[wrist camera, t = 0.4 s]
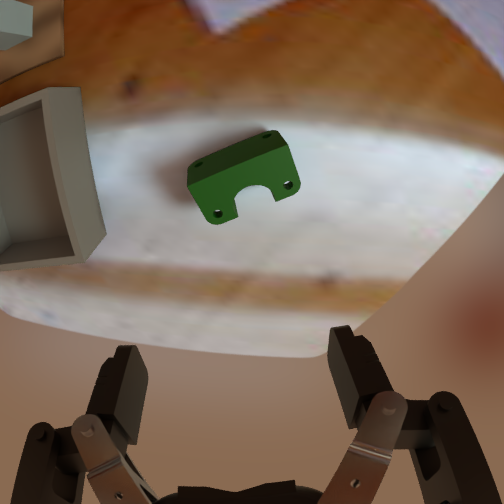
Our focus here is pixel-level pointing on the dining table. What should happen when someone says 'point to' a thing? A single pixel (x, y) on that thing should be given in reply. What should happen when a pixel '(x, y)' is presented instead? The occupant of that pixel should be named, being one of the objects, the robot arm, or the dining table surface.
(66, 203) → the bin
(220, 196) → the clamp
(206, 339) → the dining table surface
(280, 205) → the dining table surface
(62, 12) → the stud block
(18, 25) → the pale grey rectangular block
